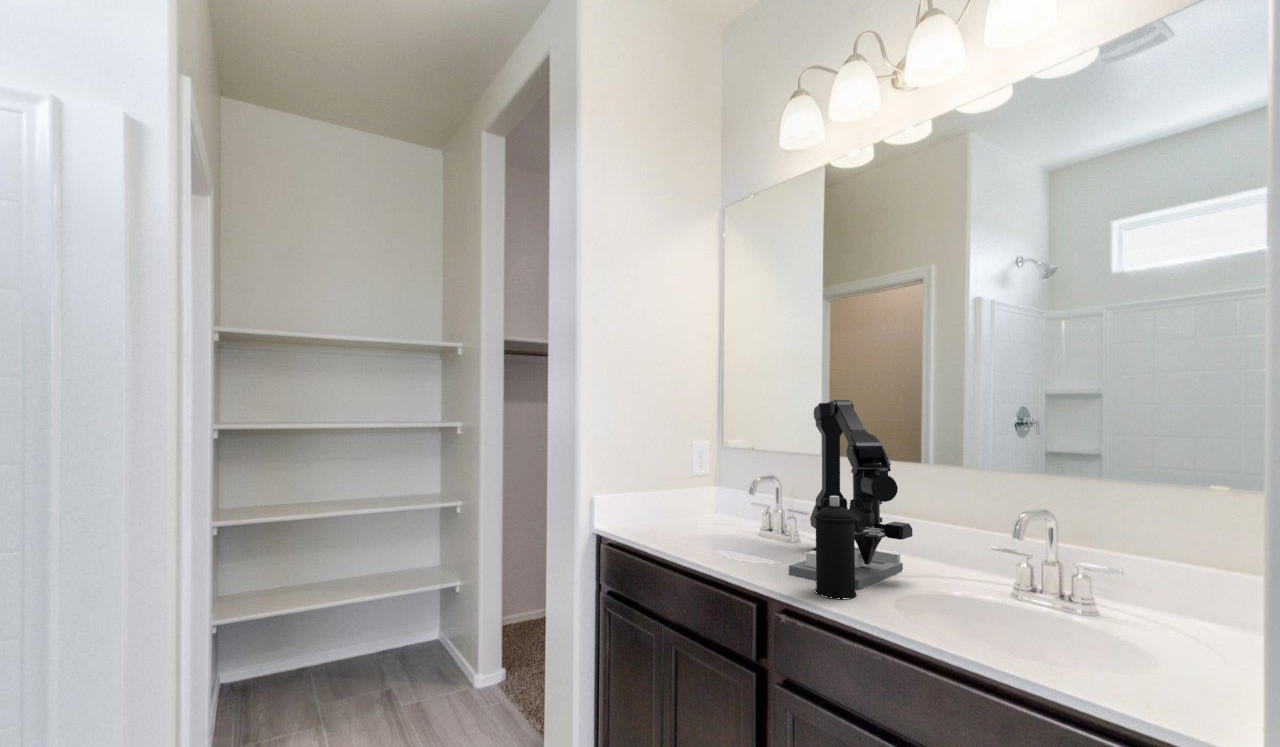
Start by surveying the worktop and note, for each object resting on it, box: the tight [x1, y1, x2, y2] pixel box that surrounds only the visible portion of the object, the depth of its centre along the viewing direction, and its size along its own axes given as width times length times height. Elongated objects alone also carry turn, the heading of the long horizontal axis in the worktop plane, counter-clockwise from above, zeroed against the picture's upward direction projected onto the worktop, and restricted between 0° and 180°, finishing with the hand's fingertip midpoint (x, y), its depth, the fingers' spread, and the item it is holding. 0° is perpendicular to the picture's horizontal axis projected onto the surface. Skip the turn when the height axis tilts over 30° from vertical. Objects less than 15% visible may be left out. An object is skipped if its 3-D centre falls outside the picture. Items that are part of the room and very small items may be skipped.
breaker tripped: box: [855, 551, 864, 568], centre depth 146 cm, size 3×3×3 cm
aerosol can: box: [814, 496, 857, 600], centre depth 131 cm, size 8×8×20 cm
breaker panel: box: [788, 546, 904, 591], centre depth 147 cm, size 22×17×4 cm
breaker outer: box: [805, 550, 816, 568], centre depth 145 cm, size 3×3×3 cm
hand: (867, 564), depth 144 cm, fingers closed
